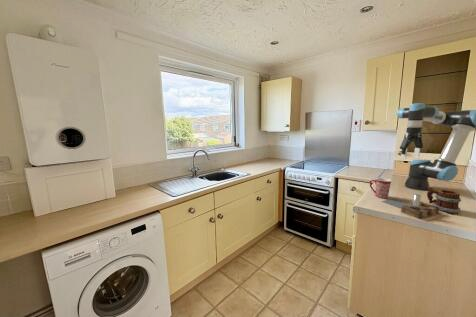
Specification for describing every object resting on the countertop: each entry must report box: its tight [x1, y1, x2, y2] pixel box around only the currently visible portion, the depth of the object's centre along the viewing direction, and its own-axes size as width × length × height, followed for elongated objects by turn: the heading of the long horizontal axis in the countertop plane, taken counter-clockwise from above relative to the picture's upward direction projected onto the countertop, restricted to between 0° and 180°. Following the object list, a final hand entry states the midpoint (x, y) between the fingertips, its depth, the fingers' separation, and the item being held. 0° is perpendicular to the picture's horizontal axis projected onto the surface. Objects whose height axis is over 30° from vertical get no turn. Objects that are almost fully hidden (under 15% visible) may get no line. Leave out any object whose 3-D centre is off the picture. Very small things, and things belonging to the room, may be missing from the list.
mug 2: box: [426, 186, 462, 215], centre depth 119 cm, size 12×14×15 cm
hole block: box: [400, 201, 440, 220], centre depth 116 cm, size 18×9×4 cm, turn 110°
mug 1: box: [369, 177, 392, 200], centre depth 142 cm, size 13×9×14 cm
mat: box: [380, 197, 411, 209], centre depth 130 cm, size 14×12×1 cm
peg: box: [411, 193, 422, 210], centre depth 114 cm, size 3×3×12 cm
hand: (409, 158), depth 135 cm, fingers open, 13 cm apart
